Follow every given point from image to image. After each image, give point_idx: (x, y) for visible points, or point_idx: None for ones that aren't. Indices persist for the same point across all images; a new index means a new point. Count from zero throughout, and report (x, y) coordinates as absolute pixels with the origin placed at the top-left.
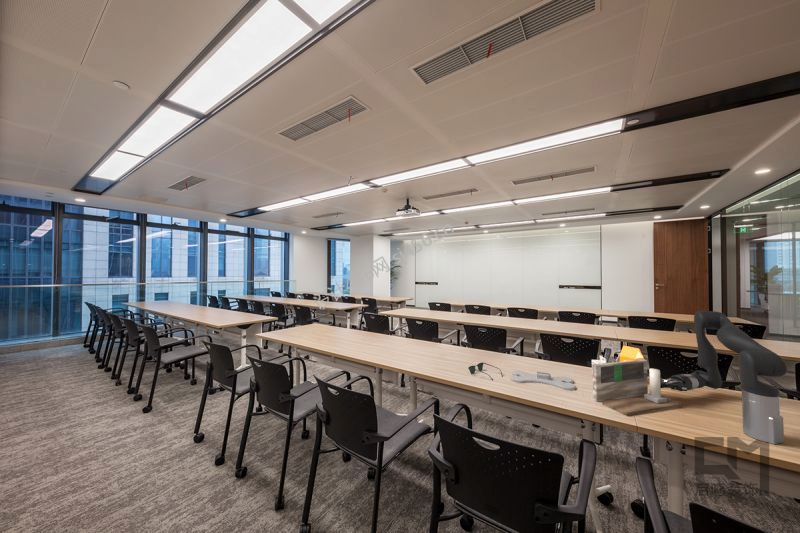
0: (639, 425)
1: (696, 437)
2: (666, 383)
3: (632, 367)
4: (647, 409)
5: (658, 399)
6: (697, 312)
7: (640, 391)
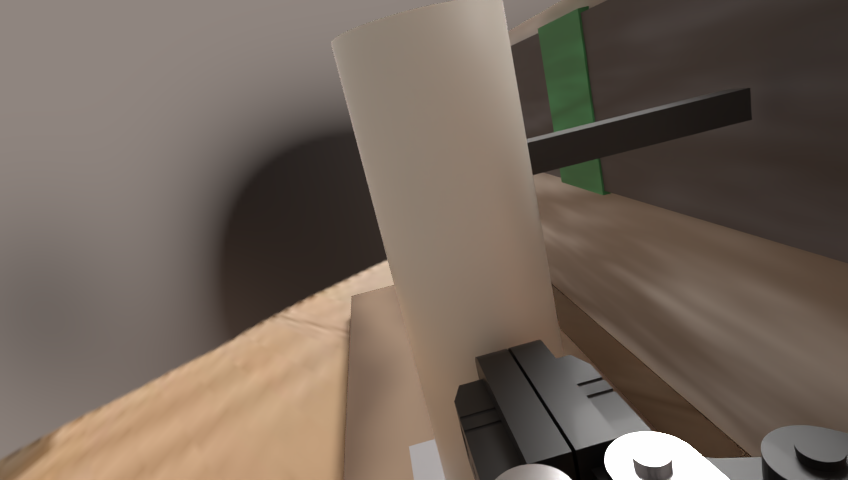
0: (273, 322)
1: (40, 453)
2: (514, 477)
3: (691, 26)
4: (348, 370)
5: (411, 460)
6: None
7: None
